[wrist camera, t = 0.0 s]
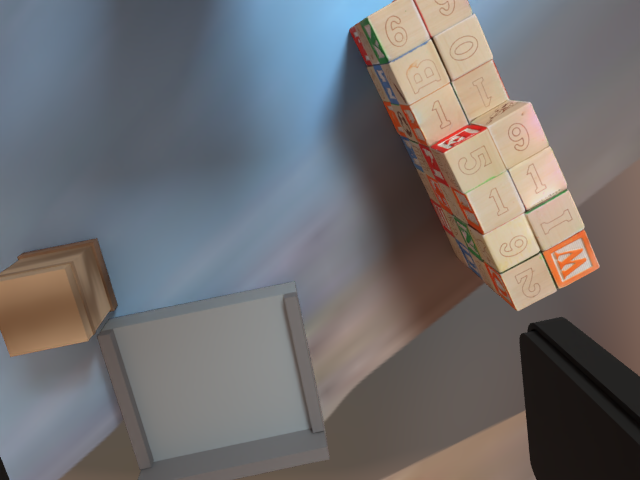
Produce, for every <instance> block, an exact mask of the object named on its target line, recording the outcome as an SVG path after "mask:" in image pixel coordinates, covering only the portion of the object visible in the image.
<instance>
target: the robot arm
mask: <svg viewBox="0 0 640 480" xmlns="http://www.w3.org/2000/svg"><path fill="white" fill-rule="evenodd" d="M520 352H521V364H522V374H523V385H524V397H525V408H526V419H527V430H528V441H529V453H530V461H531V466H532V469H533V472H534V475H535V477H536V479H537V480H640V377H639V376H638V375H637V374H636V373H634V372H633V371H632V370H631V369H629V368H628V367H627V366H625V365H624V364H623V363H622V362H620V361H619V360H618V359H616V358H615V357H614V356H613V355H611V354H610V353H609V352H607V351H606V350H605V349H603V348H602V347H601V346H600V345H599V344H597V343H596V342H595V341H594V340H592V339H591V338H590V337H588V336H587V335H586V334H584V333H583V332H582V331H581V330H579V329H578V328H577V327H576V326H574V325H573V324H572V323H571V322H569V321H568V320H567V319H565V318H563V317H559V318H554V319H549V320H544V321H540V322H536V323H530V325H529V327H528V332H527V333H522V334H521V335H520ZM0 480H9V477H8V475H7V472H6V470H5V467H4V465H3V462H2V460H1V457H0Z"/></svg>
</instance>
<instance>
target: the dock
mask: <svg viewBox="0 0 640 480" xmlns="http://www.w3.org/2000/svg"><path fill="white" fill-rule="evenodd" d="M97 338H98V341H99V345H100V348H101V351H102V354H103V357H104V360H105V363H106V366H107V369H108V372H109V376H110V379H111V382H112V385H113V388H114V391H115V394H116V397H117V400H118V404H119V407H120V410H121V413H122V416H123V419H124V422H125V425H126V428H127V431H128V434H129V438H130V441H131V444H132V447H133V450H134V453H135V456H136V459H137V462H138V465H139V469H140V470H141V472H140V475H139V478H138V480H234V479H239V478H244V477H248V476H253V475H257V474H262V473H267V472H271V471H276V470H281V469H285V468H290V467H295V466H299V465H304V464H309V463H314V462H318V461H323V460H328V459H330V457H329V451H328V445H327V439H326V433H325V427H324V421H323V416H322V411H321V406H320V401H319V397H318V392H317V387H316V382H315V377H314V372H313V368H312V363H311V358H310V353H309V348H308V343H307V339H306V334H305V329H304V324H303V319H302V314H301V310H300V305H299V300H298V295H297V290H296V285H295V281H294V282H289V283H284V284H279V285H274V286H269V287H264V288H259V289H254V290H249V291H244V292H240V293H235V294H230V295H225V296H220V297H215V298H210V299H205V300H200V301H195V302H190V303H185V304H180V305H175V306H170V307H165V308H160V309H155V310H151V311H146V312H141V313H136V314H131V315H126V316H121V317H116V318H111V319H109V320H108V321H107V323H106V324H105V326H104V327H103V329H102V330H101V331H100V333H99V334H98V336H97Z"/></svg>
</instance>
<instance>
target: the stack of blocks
mask: <svg viewBox="0 0 640 480" xmlns="http://www.w3.org/2000/svg"><path fill="white" fill-rule="evenodd" d="M349 31H350V33H351V35H352V37H353V39H354V41H355V43H356V45H357V47H358V49H359V51H360V53H361V55H362V57H363V59H364V61H365V63H366V64H367V70H368V72H369V74H370V76H371V78H372V80H373V82H374V84H375V86H376V88H377V91H378V93H379V95H380V97H381V99H382V100H383V103H384V105H385V107H386V110H387V112H388V114H389V116H390V118H391V120H392V122H393V124H394V126H395V128H396V130H397V132H398V134H399V135H400V136H401V139H402V141H403V143H404V145H405V147H406V149H407V151H408V153H409V155H410V157H411V160H412V162H413V164H414V165H415V167H416V169H417V171H418V174H419V176H420V178H421V180H422V182H423V184H424V186H425V188H426V190H427V192H428V194H429V196H430V200H431V202H432V205H433V207H434V209H435V211H436V213H437V215H438V217H439V219H440V222H441V224H442V226H443V228H444V230H445V233H446V235H447V237H448V239H449V241H450V243H451V245H452V248H453V250H454V252H455V254H456V256H457V258H458V259H459V260H460V261H462V262H463V263H464V264H465V265H466V266H467V267H468V268H470V269H471V270H472V271H473V272H475V273H476V274H477V275H478V276H479V277H480V278H481V279H482V280H483V281H484V282H485V283H486V284H487V285H488V286H489V287H490V288H491V289H492V290H493V291H494V292H496V293H497V294H498V295H499V296H501V297H502V298H503V299H504V300H505V301H506V302H507V303H509V304H510V305H511V306H512V307H513V308H514V309H515V310H517V311H519V310H521V309H523V308H525V307H527V306H529V305H530V304H533V303H534V302H536V301H538V300H540V299H542V298H544V297H546V296H548V295H550V294H552V293H554V292H556V289H557V288H562V287H565V286H567V285H569V284H570V283H572V282H574V281H576V280H578V279H580V278H582V277H583V276H585V275H587V274H589V273H591V272H593V271H594V270H596V269H598V268H599V267H600V266H599V264H598V261H597V259H596V256H595V254H594V252H593V249H592V247H591V244H590V242H589V240H588V237H587V235H586V232H585V231H584V224H583V221H582V219H581V217H580V214H579V212H578V210H577V208H576V205H575V203H574V201H573V198H572V196H571V194H570V192H569V191H568V190H567V189H566V187H567V182H566V180H565V177H564V175H563V173H562V171H561V169H560V166H559V164H558V162H557V160H556V157H555V155H554V153H553V150H552V149H551V147H550V146H549V144H548V140H547V138H546V136H545V133H544V131H543V129H542V127H541V124H540V122H539V120H538V117H537V115H536V113H535V111H534V109H533V106H532V104H531V103H530V102H524V101H515V100H510V99H509V96H508V94H507V92H506V89H505V87H504V85H503V82H502V80H501V78H500V75H499V73H498V70H497V68H496V66H495V63H494V61H493V55H492V53H491V50H490V48H489V45H488V43H487V40H486V38H485V36H484V33H483V31H482V29H481V26H480V24H479V21H478V19H477V17H476V15H475V14H474V13H472V10H471V7H470V4H469V2H468V0H394V1H393V2H392V3H391V4H389V5H387V6H385V7H384V8H382V9H380V10H378V11H377V12H375V13H373V14H371V15H370V16H368V17H366V18H365V19H363V20H362V21H360V22H359V23H357V24H356V25H355V26H353V27H351V28H350V30H349Z"/></svg>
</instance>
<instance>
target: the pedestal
mask: <svg viewBox="0 0 640 480" xmlns="http://www.w3.org/2000/svg"><path fill="white" fill-rule="evenodd" d="M117 306H118V305H117V301H116V298H115V295H114V292H113V288H112V285H111V282H110V279H109V275H108V272H107V269H106V265H105V262H104V259H103V256H102V252H101V249H100V246H99V243H98V239H97V238H96V239H91V240H86V241H81V242H76V243H71V244H65V245H60V246H55V247H50V248H45V249H40V250H35V251H30V252H25V253H22V254H21V255H19V256H18V261H17V262H15V263H14V264H13V265H11V266H10V267H8V268H7V269H5V270H4V271H3V272H1V273H0V330H1V333H2V336H3V338H4V341H5V344H6V346H7V349H8V352H9V354H10V357H13V356H18V355H23V354H27V353H32V352H37V351H42V350H47V349H52V348H57V347H62V346H67V345H72V344H77V343H82V342H86V341H89V340H90V338H91V337H92V335H94V334H95V333H96V330H97V328H98V327H99V325H100V324H101V323H102V321H103V320H104V318H105V317H106V315H107V314H108V313H109V312H111V311H114V310H115V309H116V307H117Z"/></svg>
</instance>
